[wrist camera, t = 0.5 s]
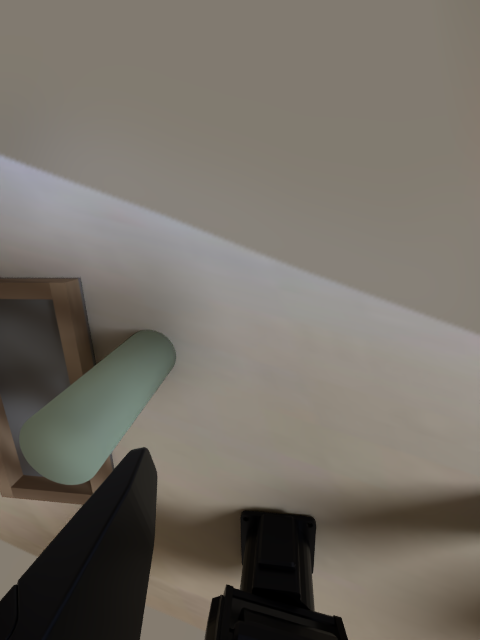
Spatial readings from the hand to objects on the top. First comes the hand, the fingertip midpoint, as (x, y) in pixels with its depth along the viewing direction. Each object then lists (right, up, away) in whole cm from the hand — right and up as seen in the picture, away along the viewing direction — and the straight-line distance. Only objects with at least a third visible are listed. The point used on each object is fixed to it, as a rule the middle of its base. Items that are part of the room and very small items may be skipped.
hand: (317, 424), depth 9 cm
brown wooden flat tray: (-19, -4, +19) cm, 27 cm away
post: (-9, 0, +17) cm, 19 cm away
